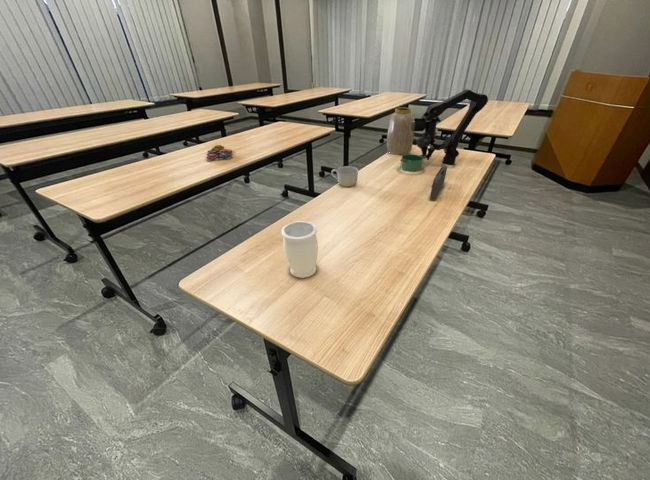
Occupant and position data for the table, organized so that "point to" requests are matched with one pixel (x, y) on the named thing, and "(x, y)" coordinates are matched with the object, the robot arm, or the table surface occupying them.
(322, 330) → the table surface
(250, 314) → the table surface
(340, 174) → the teacup
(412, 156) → the pot
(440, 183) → the handheld gaming console
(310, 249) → the jar
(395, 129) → the vase
